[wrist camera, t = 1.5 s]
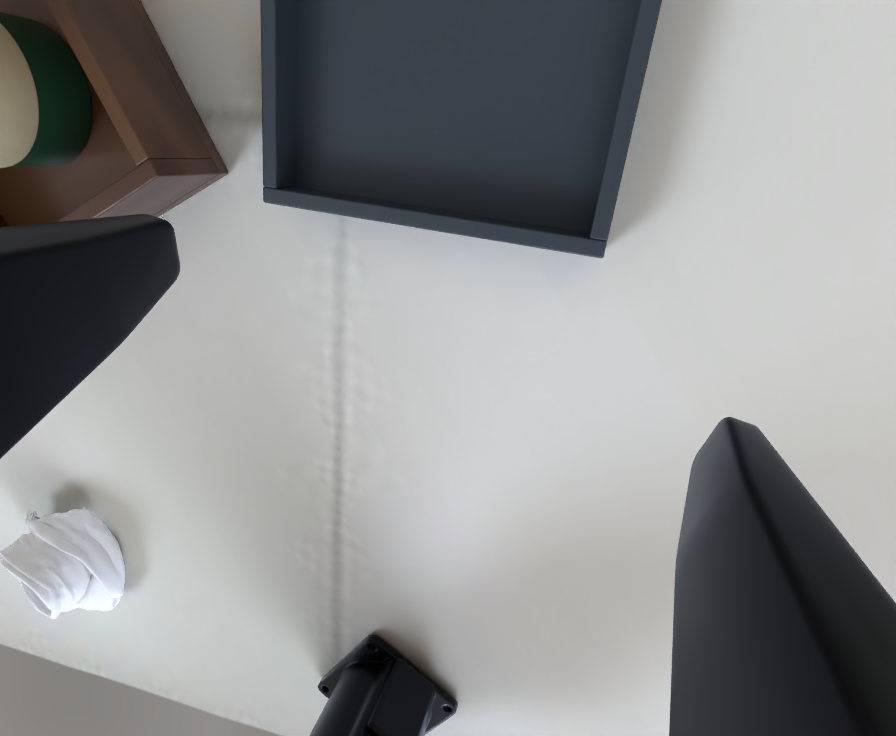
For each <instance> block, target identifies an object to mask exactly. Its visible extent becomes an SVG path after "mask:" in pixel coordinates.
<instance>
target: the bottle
mask: <svg viewBox="0 0 896 736" xmlns="http://www.w3.org/2000/svg"><path fill="white" fill-rule="evenodd" d="M91 123H92V106H91V98H90V93H89V89H88V85H87V82H86V79H85V76H84V73H83V71H82V69H81V67H80V65H79V63H78V61H77V59H76V58H75V56H74V54H73V53H72V51H71V50H70V48H69V47H68V46H67V45H66V43H65V42H64V41H63V40H62V39H61V38H60V37H59V36H58V35H57V34H56V33H55V32H53V31H52V30H51V29H49V28H48V27H47V26H45V25H43V24H41V23H40V22H37V21H35V20H32V19H28V18H24V17H20V16H15V15H11V14H7V13H3V12H0V168H6V167H24V166H59V165H63V164H66V163H68V162H70V161H72V160H73V159H74V158H76V157H77V156H78V155H79V154H80V152H81V151H82V150H83V148H84V147H85V145H86V142H87V140H88V138H89V134H90V130H91Z"/></svg>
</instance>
